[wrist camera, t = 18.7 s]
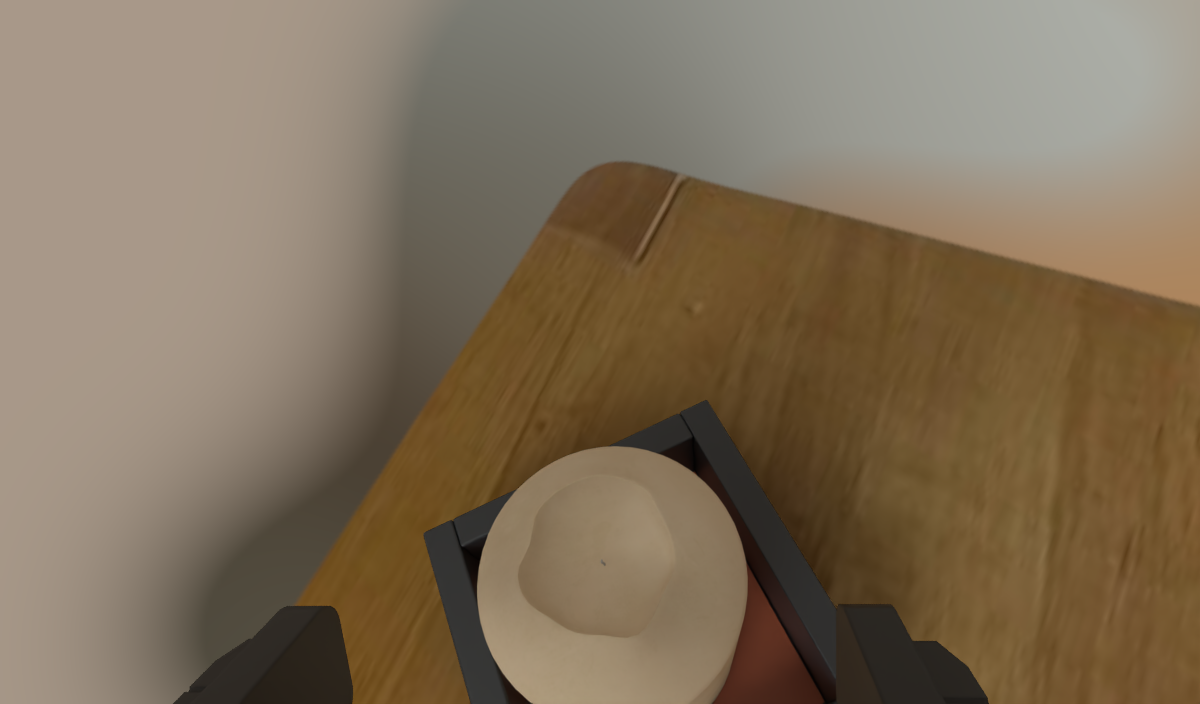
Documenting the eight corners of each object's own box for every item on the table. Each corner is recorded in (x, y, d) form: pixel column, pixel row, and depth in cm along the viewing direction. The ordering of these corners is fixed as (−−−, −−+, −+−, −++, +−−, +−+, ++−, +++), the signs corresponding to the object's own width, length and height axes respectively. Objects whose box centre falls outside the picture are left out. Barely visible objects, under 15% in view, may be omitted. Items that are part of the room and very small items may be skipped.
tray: (561, 893, 18) (531, 922, 15) (459, 561, 23) (421, 532, 20) (873, 724, 19) (904, 718, 16) (706, 443, 24) (706, 398, 21)
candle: (765, 695, 19) (811, 651, 10) (589, 768, 19) (491, 782, 10) (690, 522, 22) (679, 380, 13) (537, 582, 22) (428, 474, 13)
